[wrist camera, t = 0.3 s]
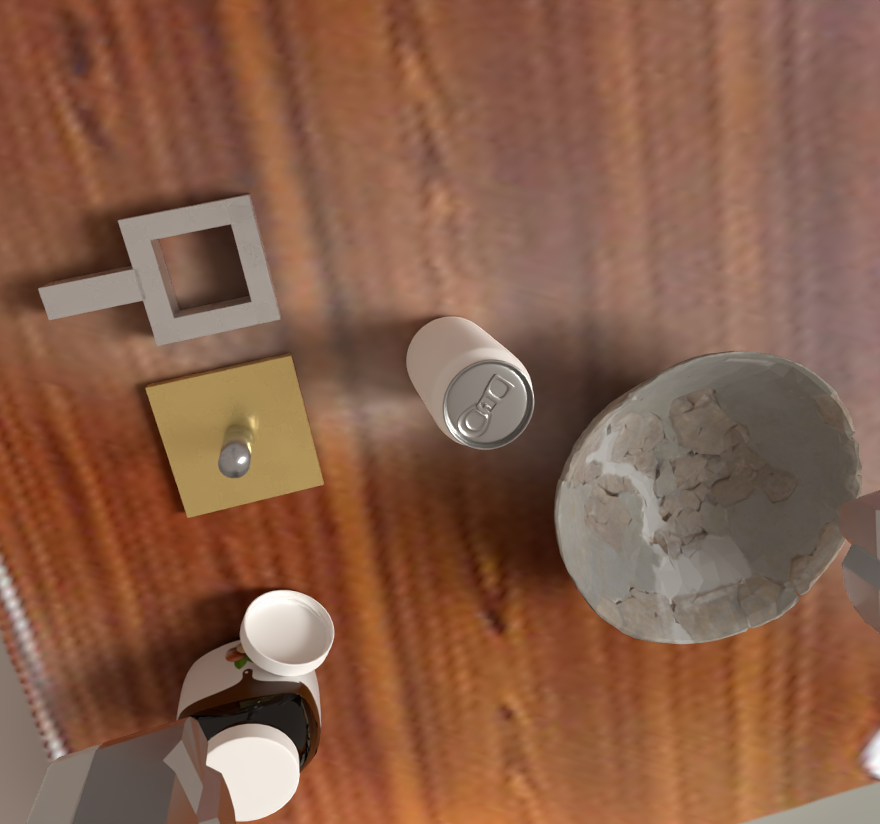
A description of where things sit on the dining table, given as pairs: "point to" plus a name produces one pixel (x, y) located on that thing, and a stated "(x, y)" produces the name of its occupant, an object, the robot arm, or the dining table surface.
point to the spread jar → (262, 700)
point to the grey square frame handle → (153, 278)
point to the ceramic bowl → (707, 497)
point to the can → (470, 383)
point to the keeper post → (236, 434)
